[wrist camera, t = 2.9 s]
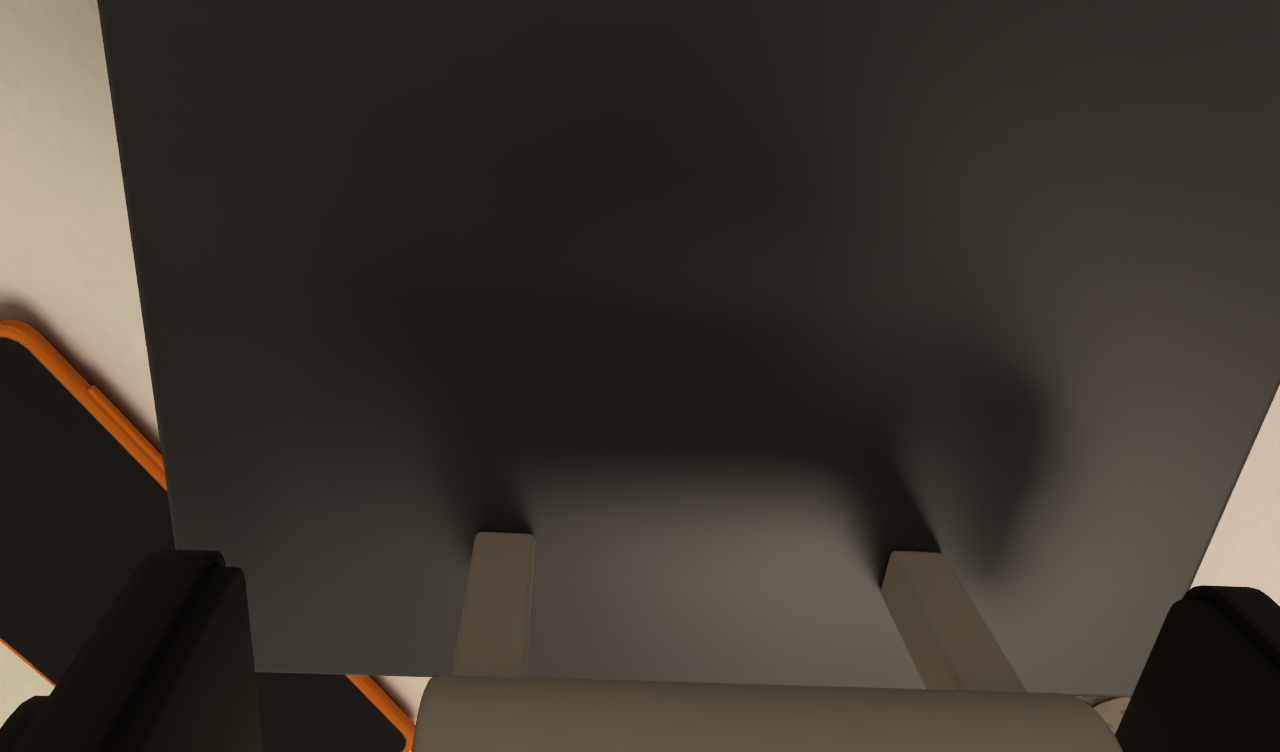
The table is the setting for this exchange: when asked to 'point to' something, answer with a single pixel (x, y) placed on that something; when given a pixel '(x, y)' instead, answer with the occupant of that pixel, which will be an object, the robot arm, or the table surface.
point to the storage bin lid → (708, 349)
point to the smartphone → (122, 547)
